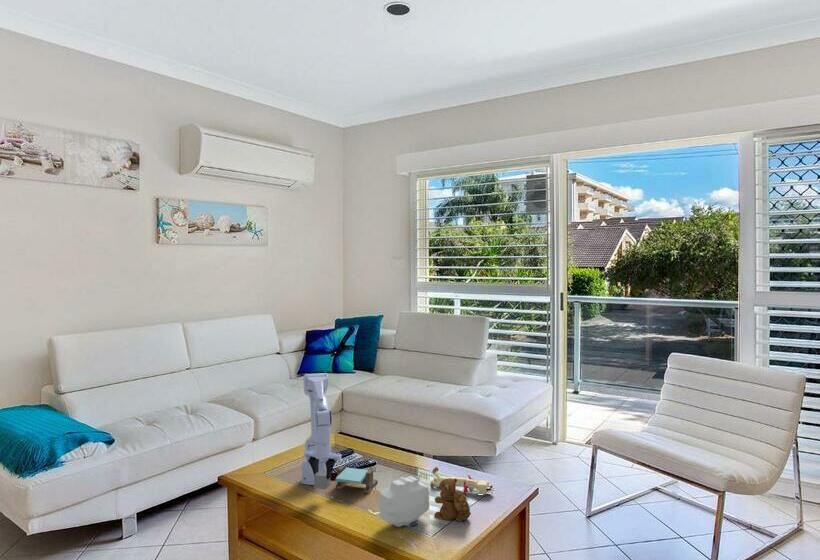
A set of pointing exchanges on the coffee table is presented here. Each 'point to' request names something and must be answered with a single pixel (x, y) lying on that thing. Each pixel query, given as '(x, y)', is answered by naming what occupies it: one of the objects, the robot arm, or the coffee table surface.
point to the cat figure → (464, 483)
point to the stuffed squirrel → (451, 502)
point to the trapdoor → (352, 476)
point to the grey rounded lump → (404, 501)
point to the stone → (321, 480)
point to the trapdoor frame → (369, 480)
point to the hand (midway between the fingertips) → (322, 477)
